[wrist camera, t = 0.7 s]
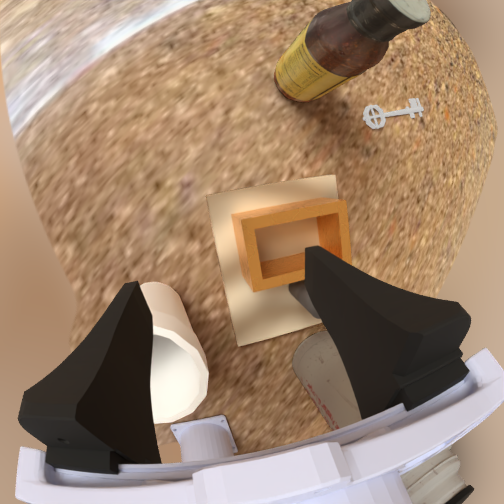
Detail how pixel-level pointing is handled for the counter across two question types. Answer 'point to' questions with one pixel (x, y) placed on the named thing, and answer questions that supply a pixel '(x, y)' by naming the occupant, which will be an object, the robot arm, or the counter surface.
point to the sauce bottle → (344, 45)
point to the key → (390, 113)
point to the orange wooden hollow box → (293, 266)
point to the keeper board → (267, 257)
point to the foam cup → (174, 357)
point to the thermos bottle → (347, 412)
